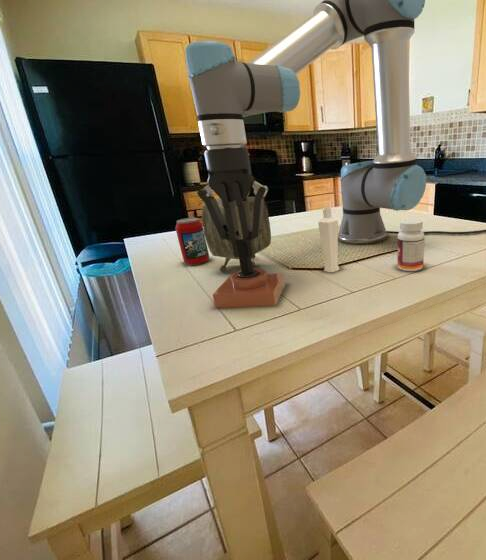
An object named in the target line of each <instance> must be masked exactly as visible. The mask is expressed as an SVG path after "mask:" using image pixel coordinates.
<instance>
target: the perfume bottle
mask: <svg viewBox="0 0 486 560" xmlns="http://www.w3.org/2000/svg"><path fill="white" fill-rule="evenodd" d="M321 210H322V216H323V217H322V218H321V219H319V220H317V223H318V231H319V236H320V243H321V250H322V255H323V262H324V268H323V272H327V273H334V272H337V271H340V265H339V264H338V263H339V261H338V258H339V257H338V256H339V255H338V254H339V251H338V248H339V246H338V245H339V244H338V243H339V220H338V219H337V218H334V217H333V215H332V208H331V207H323V208H322V209H321Z"/></svg>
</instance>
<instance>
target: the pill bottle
mask: <svg viewBox="0 0 486 560" xmlns="http://www.w3.org/2000/svg"><path fill="white" fill-rule="evenodd" d="M423 222H424V221H423V220H422V219H418V218H407V219H406V218H405V219H402V220H401V219H400V221H399V230H400V231H398V232H399V233H398V234H397V268H398V269H399V270H401V271H406V272H417V271H420V270H422V269H423V267H424V259H425V258H424V257H425V234H424V233H423V232H424V231H422V230H423V229H424V225H423V224H424V223H423Z"/></svg>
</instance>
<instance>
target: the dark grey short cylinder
mask: <svg viewBox="0 0 486 560" xmlns="http://www.w3.org/2000/svg"><path fill="white" fill-rule="evenodd" d="M257 275H259V273H258V270H255V269H253V270H252V271H251V272H250V274H242V272H240V273H239V274H238V276H239V278H252V277H255V276H257Z"/></svg>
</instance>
